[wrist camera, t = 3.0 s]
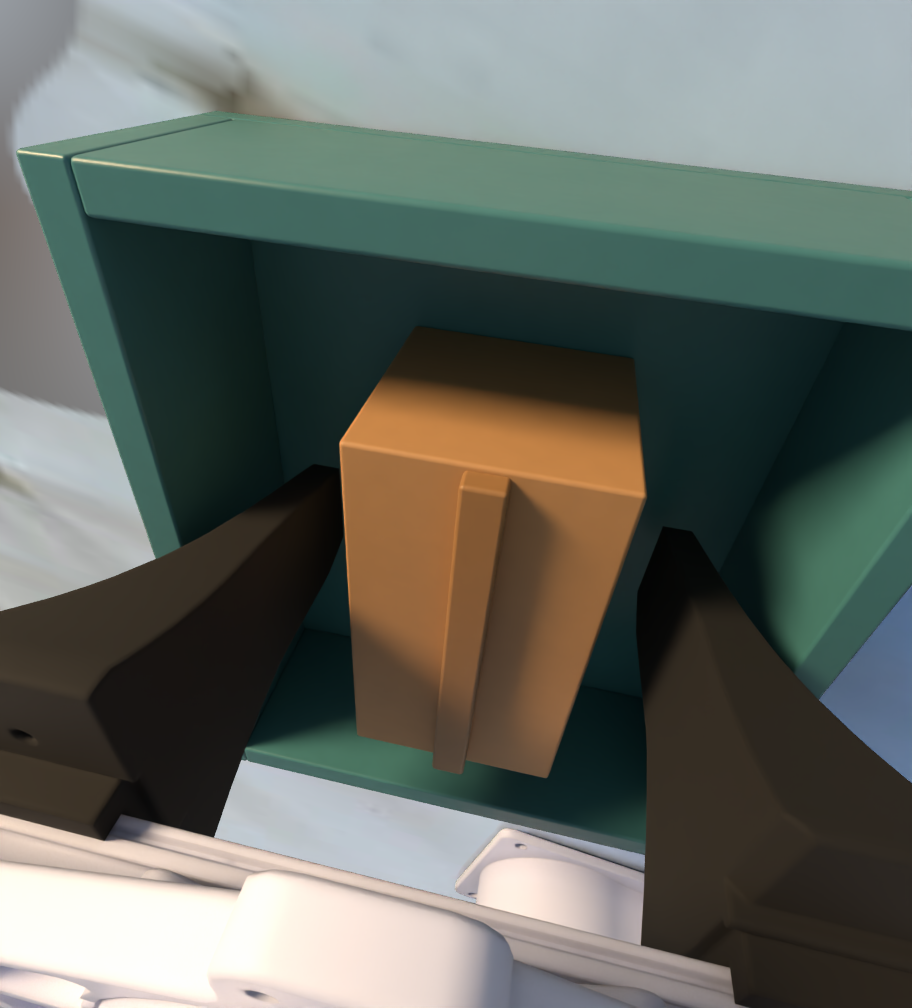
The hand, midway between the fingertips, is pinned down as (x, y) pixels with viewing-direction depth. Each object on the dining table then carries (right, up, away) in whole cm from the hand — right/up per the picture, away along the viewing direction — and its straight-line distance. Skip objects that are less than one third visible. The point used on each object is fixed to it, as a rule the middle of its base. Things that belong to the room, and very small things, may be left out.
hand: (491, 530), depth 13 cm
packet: (0, +1, +1) cm, 1 cm away
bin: (0, +1, +1) cm, 2 cm away
